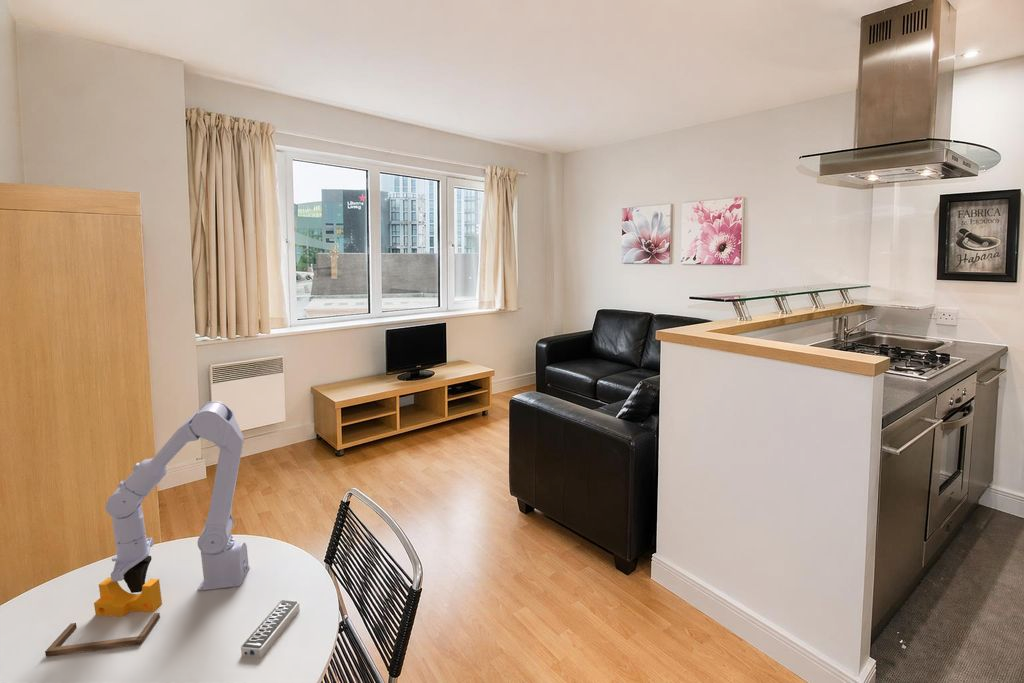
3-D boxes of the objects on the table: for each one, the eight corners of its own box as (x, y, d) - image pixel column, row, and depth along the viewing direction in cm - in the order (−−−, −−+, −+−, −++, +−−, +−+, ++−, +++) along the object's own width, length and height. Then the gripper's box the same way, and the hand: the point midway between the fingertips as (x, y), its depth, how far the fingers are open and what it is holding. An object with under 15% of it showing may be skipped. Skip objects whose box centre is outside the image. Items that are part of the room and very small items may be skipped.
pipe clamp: (95, 615, 114) (91, 589, 113) (111, 602, 118) (108, 577, 117) (147, 617, 113) (144, 591, 112) (162, 604, 117) (158, 578, 116)
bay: (160, 617, 113) (159, 612, 113) (141, 644, 105) (141, 639, 105) (71, 628, 109) (70, 623, 109) (45, 656, 102) (44, 651, 102)
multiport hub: (300, 610, 116) (299, 601, 115) (261, 659, 101) (260, 649, 101) (282, 608, 116) (281, 599, 116) (240, 657, 102) (239, 647, 102)
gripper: (127, 522, 124) (134, 574, 126) (91, 556, 110) (100, 613, 112) (160, 520, 125) (166, 570, 128) (128, 553, 111) (136, 609, 114)
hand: (137, 590), depth 120 cm, fingers closed
